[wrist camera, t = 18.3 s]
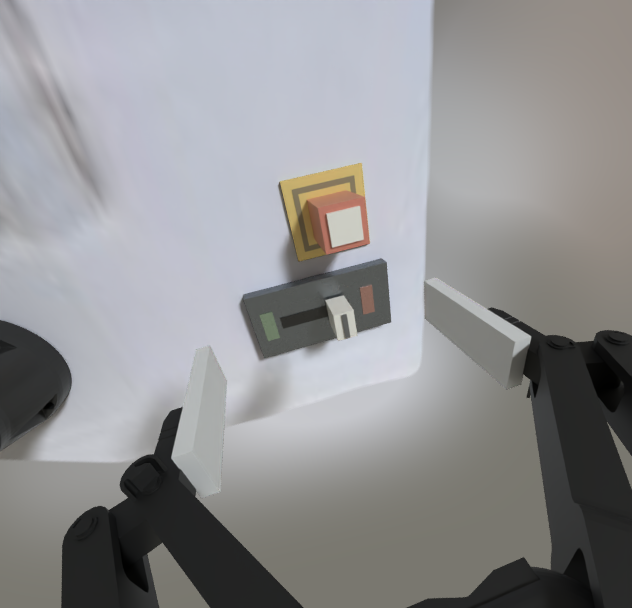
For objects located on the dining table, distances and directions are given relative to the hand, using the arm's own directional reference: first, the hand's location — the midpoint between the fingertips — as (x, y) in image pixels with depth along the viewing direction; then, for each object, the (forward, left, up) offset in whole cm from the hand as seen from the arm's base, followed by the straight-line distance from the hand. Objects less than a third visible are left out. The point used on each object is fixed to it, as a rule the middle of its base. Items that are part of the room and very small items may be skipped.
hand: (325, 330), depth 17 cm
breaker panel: (+2, -9, -19) cm, 21 cm away
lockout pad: (+5, +2, -19) cm, 20 cm away
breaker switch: (+4, -9, -17) cm, 20 cm away
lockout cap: (+5, +2, -18) cm, 19 cm away
